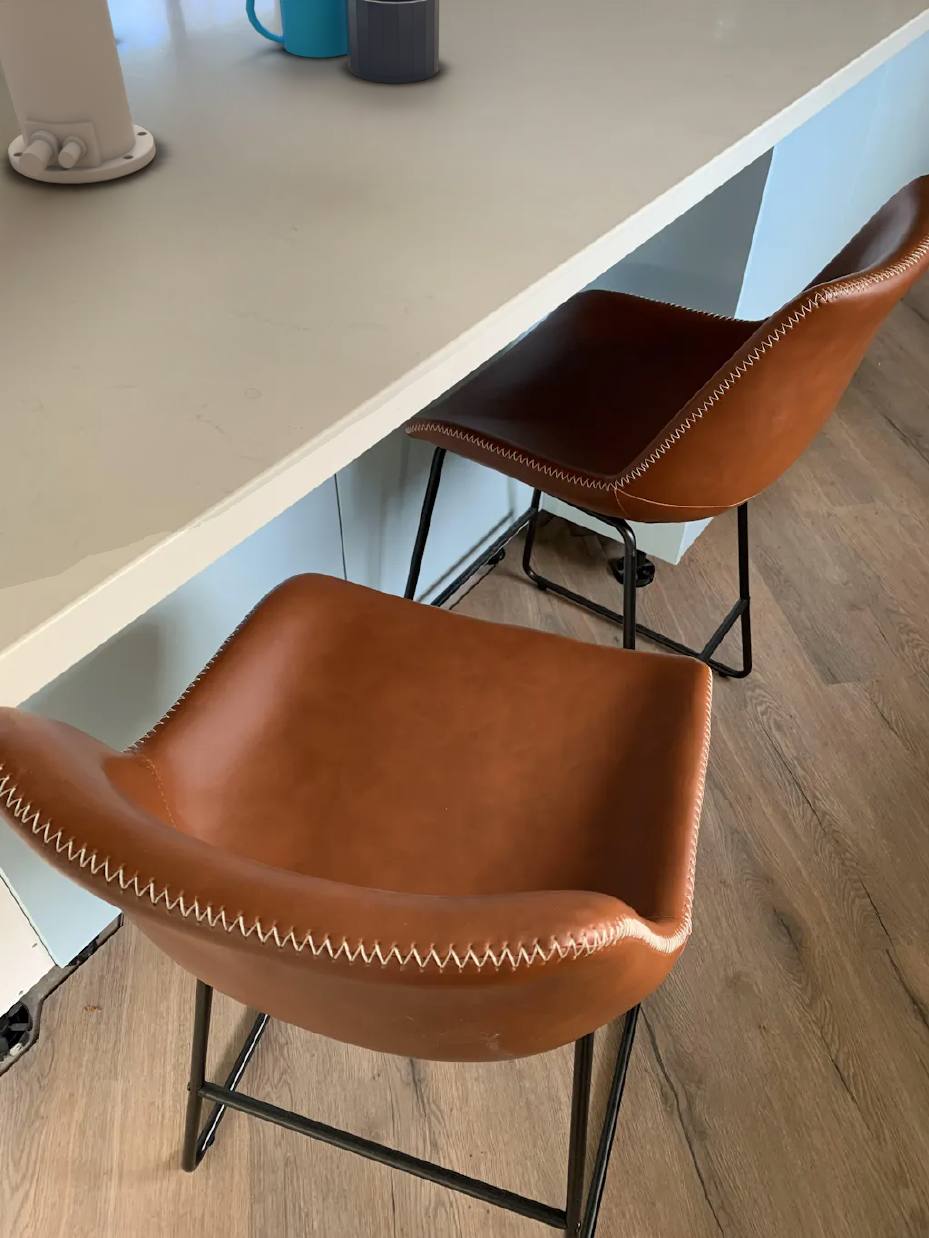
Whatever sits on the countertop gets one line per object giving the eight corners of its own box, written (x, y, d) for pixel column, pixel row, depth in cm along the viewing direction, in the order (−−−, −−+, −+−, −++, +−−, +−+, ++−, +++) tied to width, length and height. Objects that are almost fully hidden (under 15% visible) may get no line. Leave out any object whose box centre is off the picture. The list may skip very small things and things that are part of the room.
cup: (438, 85, 103) (439, 4, 97) (345, 82, 102) (340, 1, 97) (438, 55, 110) (439, -22, 104) (351, 52, 109) (347, -25, 104)
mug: (347, 33, 114) (343, -48, 108) (361, 55, 109) (357, -29, 103) (246, 38, 111) (236, -45, 105) (254, 61, 106) (244, -25, 100)
